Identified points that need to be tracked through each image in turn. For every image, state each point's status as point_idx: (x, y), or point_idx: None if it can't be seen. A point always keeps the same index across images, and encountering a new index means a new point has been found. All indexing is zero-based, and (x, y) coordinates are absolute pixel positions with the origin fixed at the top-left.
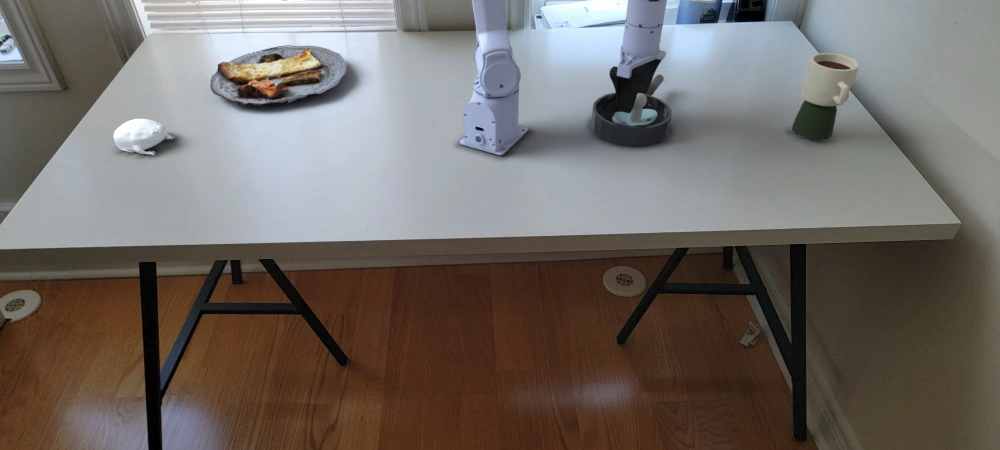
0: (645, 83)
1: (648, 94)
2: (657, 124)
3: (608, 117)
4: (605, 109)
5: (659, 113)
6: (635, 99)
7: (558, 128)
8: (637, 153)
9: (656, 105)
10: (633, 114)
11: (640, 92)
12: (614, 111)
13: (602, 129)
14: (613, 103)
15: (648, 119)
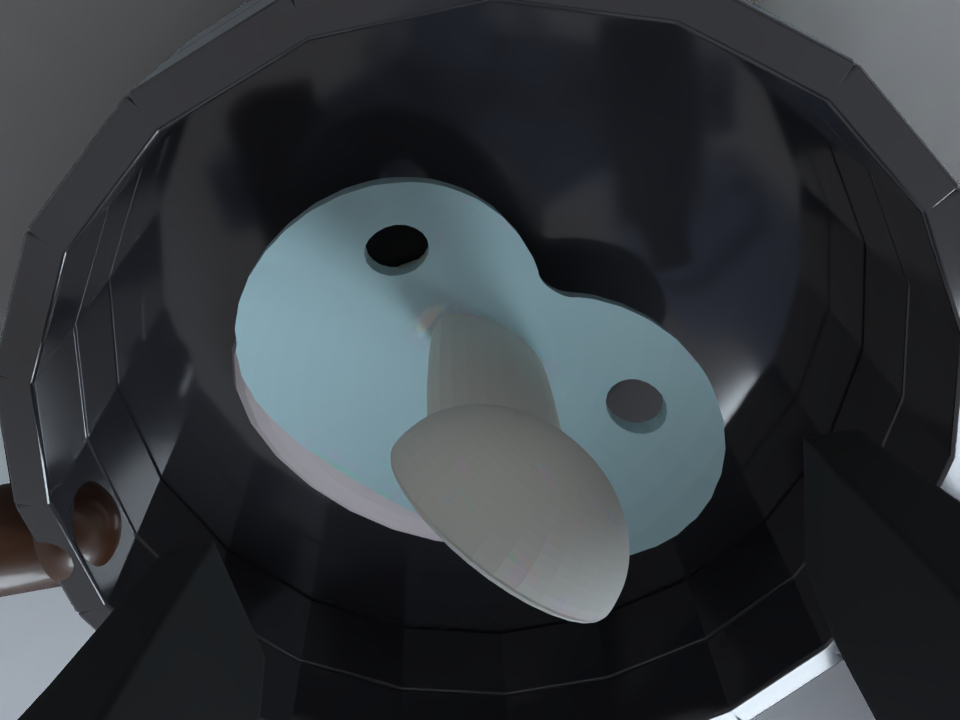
0: (170, 692)
1: (2, 528)
2: (707, 21)
3: None
4: (412, 641)
5: (104, 248)
6: (939, 545)
7: (845, 702)
8: (951, 14)
9: (64, 347)
10: (553, 414)
11: (233, 606)
12: (356, 580)
13: None
14: (327, 653)
15: (370, 262)
